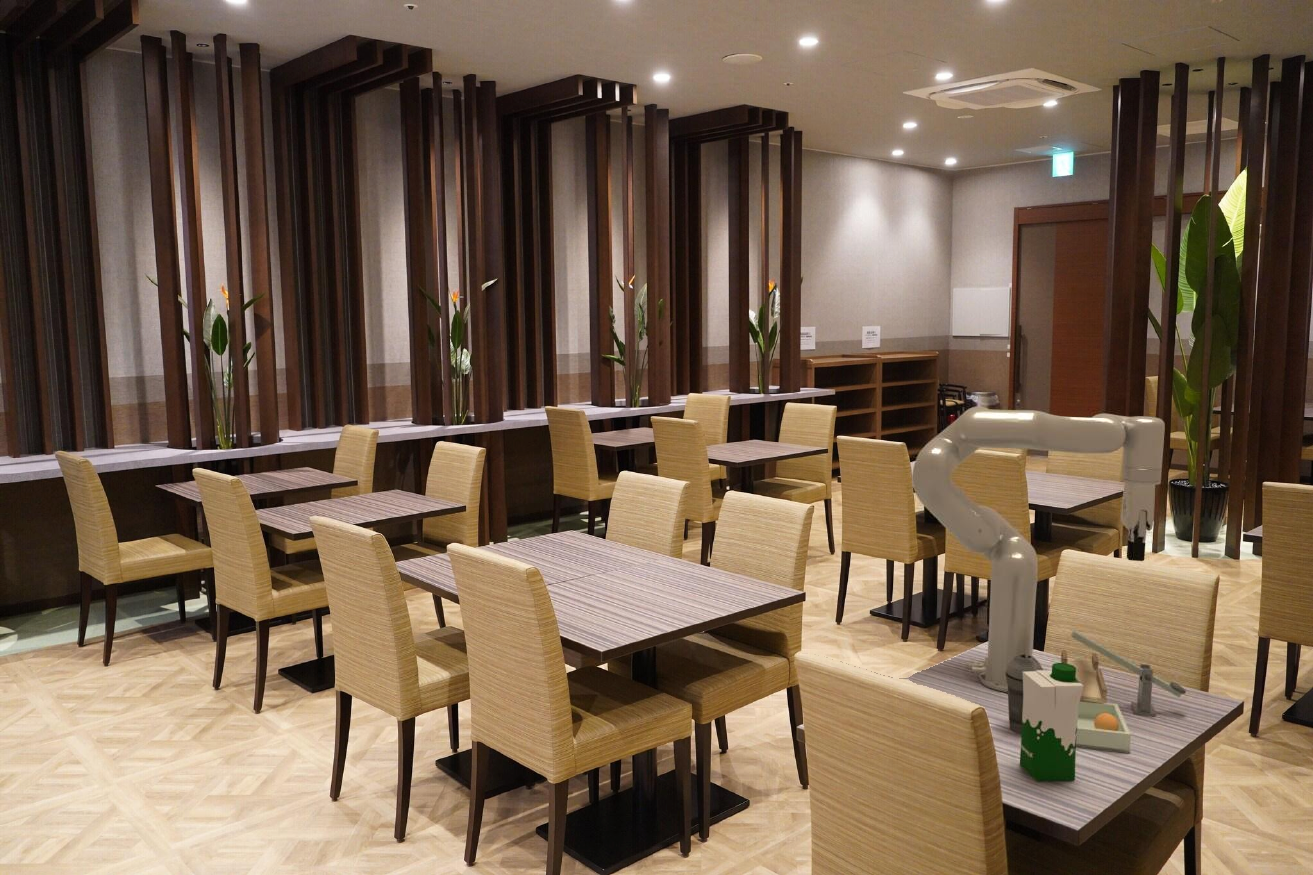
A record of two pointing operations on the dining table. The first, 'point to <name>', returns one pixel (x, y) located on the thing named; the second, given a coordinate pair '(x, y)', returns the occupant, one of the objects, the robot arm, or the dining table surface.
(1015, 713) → the beverage cup
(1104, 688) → the ramp
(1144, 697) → the pivot stand
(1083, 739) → the shallow mint tray
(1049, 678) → the milk carton
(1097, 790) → the dining table surface
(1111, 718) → the ball
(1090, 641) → the lever
